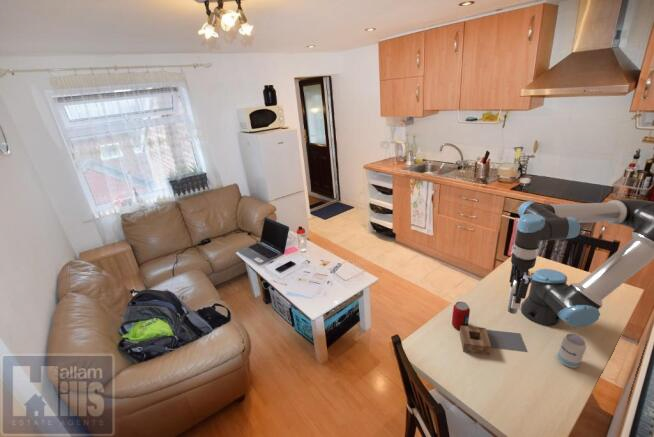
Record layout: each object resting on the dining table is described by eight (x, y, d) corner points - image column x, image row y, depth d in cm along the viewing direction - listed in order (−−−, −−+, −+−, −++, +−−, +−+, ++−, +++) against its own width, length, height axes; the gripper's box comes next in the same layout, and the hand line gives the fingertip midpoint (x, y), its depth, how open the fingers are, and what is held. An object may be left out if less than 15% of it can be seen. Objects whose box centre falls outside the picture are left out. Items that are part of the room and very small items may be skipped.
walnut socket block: (484, 336, 130) (485, 328, 128) (489, 355, 122) (491, 346, 119) (459, 333, 133) (460, 325, 131) (462, 352, 124) (464, 343, 122)
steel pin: (515, 308, 121) (521, 278, 115) (517, 314, 118) (524, 283, 112) (506, 307, 122) (512, 278, 116) (508, 313, 119) (515, 283, 113)
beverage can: (469, 332, 133) (472, 311, 128) (453, 330, 135) (455, 310, 130) (465, 321, 139) (468, 300, 134) (450, 320, 141) (452, 300, 136)
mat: (520, 333, 130) (520, 333, 130) (527, 352, 121) (527, 352, 121) (484, 329, 133) (484, 329, 133) (489, 347, 125) (489, 347, 125)
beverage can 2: (552, 359, 117) (560, 337, 112) (562, 351, 120) (569, 329, 115) (573, 372, 112) (581, 349, 107) (582, 363, 115) (591, 341, 110)
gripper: (506, 243, 117) (498, 290, 127) (519, 266, 103) (508, 318, 113) (528, 244, 115) (517, 292, 125) (544, 268, 101) (531, 320, 111)
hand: (513, 304), depth 119 cm, fingers closed on steel pin, 3 cm apart
